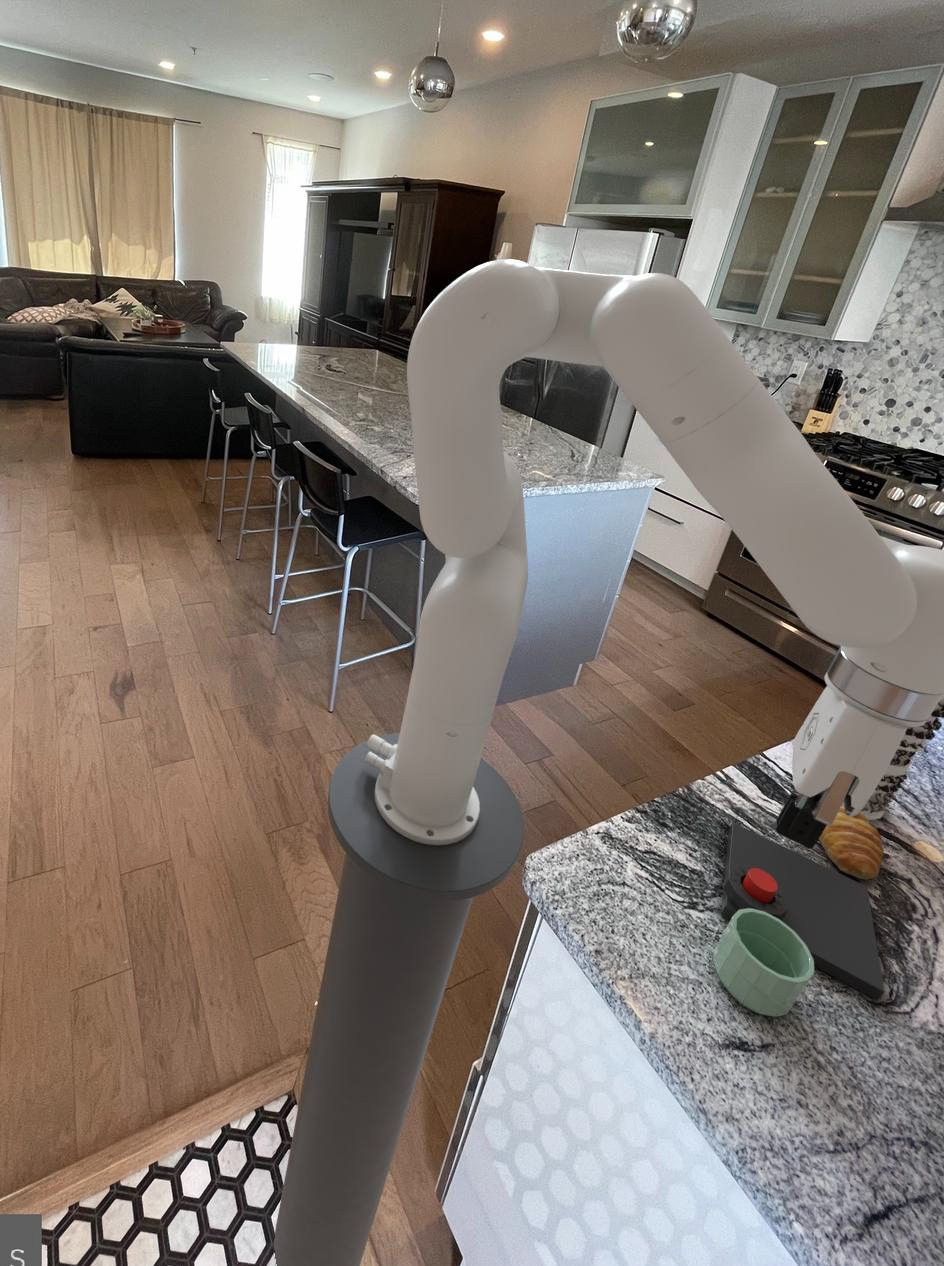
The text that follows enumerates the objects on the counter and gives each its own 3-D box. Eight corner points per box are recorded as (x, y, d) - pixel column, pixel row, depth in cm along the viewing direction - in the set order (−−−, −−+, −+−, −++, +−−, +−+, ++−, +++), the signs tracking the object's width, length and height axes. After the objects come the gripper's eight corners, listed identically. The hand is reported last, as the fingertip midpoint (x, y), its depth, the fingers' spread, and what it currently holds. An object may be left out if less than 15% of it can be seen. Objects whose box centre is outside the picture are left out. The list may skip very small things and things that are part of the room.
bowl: (708, 987, 59) (730, 949, 57) (714, 931, 65) (734, 895, 63) (790, 1036, 56) (816, 998, 54) (789, 973, 62) (812, 936, 60)
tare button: (741, 893, 66) (748, 881, 66) (743, 874, 69) (748, 863, 68) (771, 908, 65) (778, 897, 65) (771, 889, 68) (778, 877, 67)
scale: (716, 913, 67) (727, 893, 66) (725, 828, 78) (734, 810, 77) (878, 1001, 60) (892, 981, 59) (862, 895, 72) (873, 876, 71)
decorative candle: (866, 830, 81) (964, 672, 72) (795, 779, 89) (876, 628, 79) (900, 811, 86) (997, 659, 76) (829, 763, 93) (910, 619, 83)
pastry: (888, 896, 72) (904, 872, 71) (821, 868, 75) (835, 845, 73) (867, 837, 80) (881, 815, 79) (807, 814, 83) (819, 792, 81)
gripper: (827, 633, 62) (754, 773, 70) (835, 705, 51) (746, 864, 58) (919, 666, 59) (833, 810, 66) (951, 751, 47) (842, 915, 54)
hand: (793, 835), depth 62 cm, fingers closed
